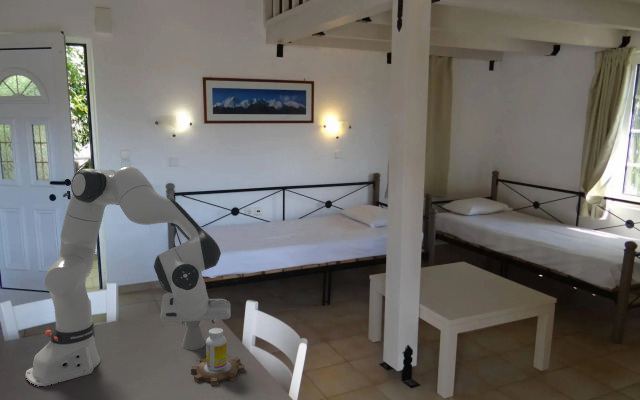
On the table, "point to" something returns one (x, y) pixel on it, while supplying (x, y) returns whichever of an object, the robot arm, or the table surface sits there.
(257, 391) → the table surface
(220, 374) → the gear platform
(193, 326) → the lava lamp
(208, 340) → the supplement bottle
